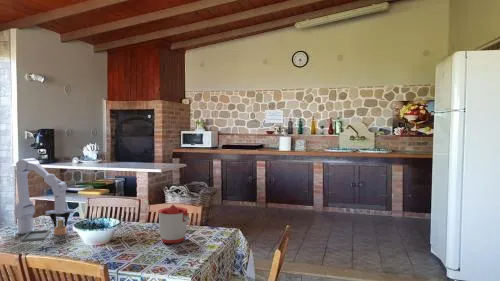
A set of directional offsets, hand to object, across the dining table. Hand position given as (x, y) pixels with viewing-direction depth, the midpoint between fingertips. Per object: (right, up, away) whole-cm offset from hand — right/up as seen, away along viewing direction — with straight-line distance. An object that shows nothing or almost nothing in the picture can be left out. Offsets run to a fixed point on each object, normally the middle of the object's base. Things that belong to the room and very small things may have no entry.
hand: (60, 226), depth 210 cm
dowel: (0, -4, 0) cm, 4 cm away
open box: (0, -5, 0) cm, 5 cm away
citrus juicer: (+69, -6, -11) cm, 70 cm away
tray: (-11, -5, -5) cm, 13 cm away
